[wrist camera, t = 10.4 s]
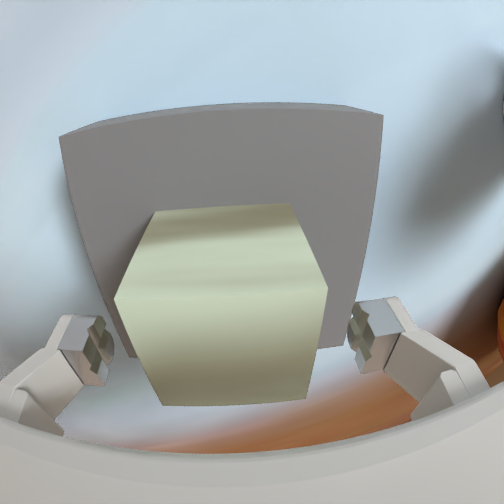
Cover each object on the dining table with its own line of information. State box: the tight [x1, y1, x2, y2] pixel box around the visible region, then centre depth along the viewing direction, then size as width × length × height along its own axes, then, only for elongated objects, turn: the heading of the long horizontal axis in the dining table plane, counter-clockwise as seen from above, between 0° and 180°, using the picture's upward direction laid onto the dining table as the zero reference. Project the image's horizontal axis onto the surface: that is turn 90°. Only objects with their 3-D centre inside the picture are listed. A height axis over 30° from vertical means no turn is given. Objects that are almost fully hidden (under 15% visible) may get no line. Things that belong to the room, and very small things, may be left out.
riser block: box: [59, 102, 383, 358], centre depth 14 cm, size 12×12×4 cm
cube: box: [114, 203, 328, 406], centre depth 10 cm, size 5×5×5 cm
